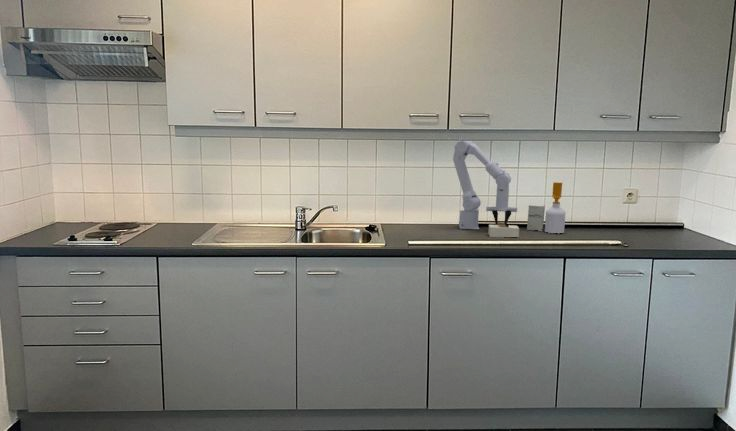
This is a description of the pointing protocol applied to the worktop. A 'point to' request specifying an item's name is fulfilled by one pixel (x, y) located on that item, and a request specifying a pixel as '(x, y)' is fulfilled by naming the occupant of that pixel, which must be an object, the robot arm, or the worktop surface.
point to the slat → (501, 224)
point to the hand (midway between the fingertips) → (500, 226)
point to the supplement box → (535, 217)
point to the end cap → (503, 231)
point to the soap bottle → (555, 213)
